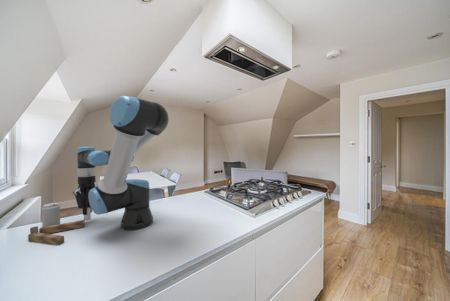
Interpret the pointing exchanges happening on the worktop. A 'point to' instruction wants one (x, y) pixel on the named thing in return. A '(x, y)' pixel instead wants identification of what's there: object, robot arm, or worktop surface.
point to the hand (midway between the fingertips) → (87, 219)
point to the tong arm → (62, 227)
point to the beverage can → (50, 214)
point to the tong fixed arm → (44, 237)
